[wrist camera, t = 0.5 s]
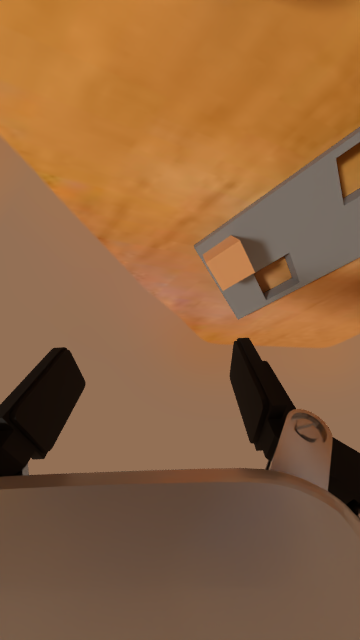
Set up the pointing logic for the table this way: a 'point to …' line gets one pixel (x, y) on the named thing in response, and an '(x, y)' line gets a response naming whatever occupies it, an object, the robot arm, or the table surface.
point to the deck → (294, 230)
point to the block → (228, 262)
